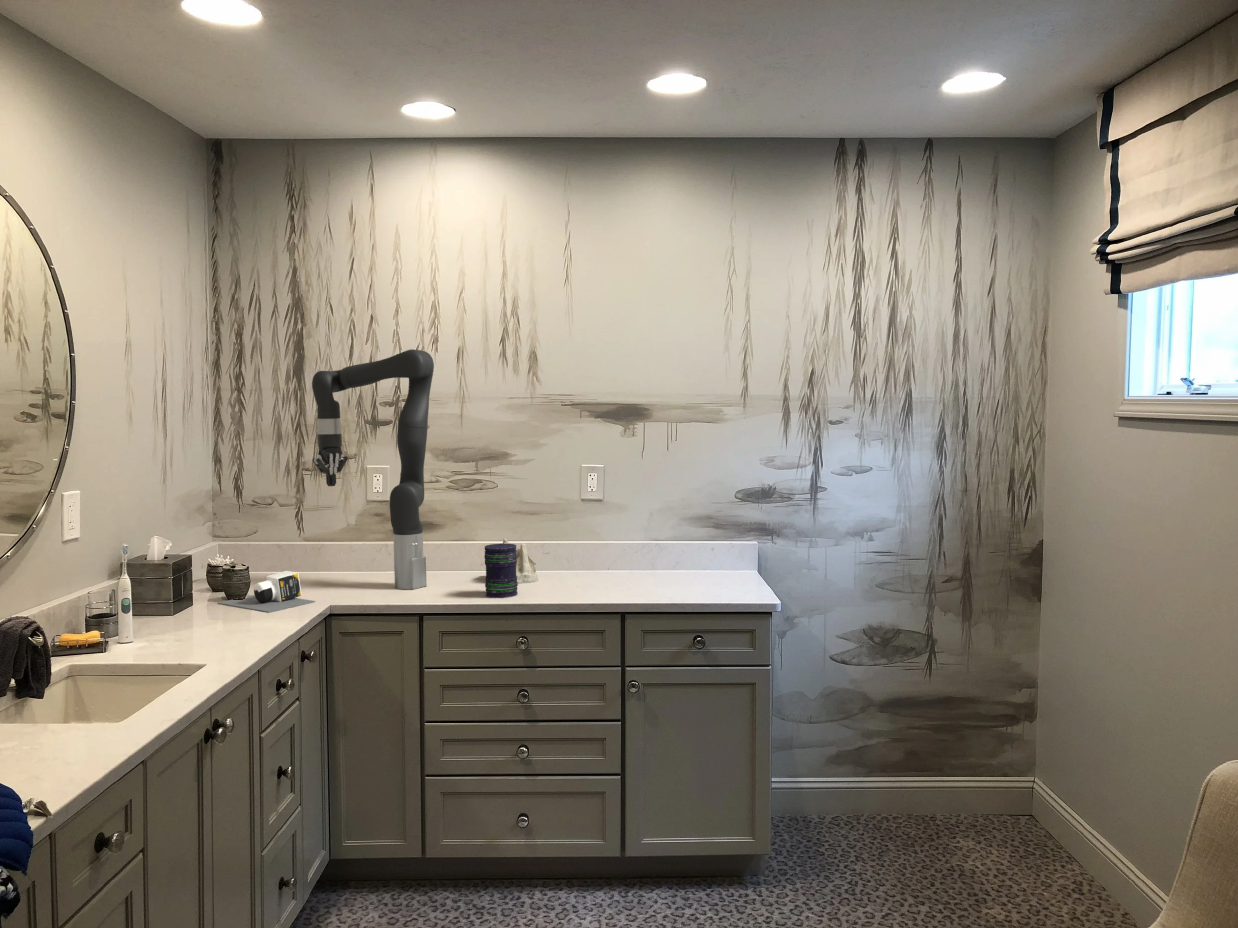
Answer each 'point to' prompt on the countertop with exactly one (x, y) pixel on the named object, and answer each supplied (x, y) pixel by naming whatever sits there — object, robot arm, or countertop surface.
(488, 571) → the storage jar
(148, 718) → the countertop surface
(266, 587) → the medicine bottle
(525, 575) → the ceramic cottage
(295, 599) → the rubber mat
